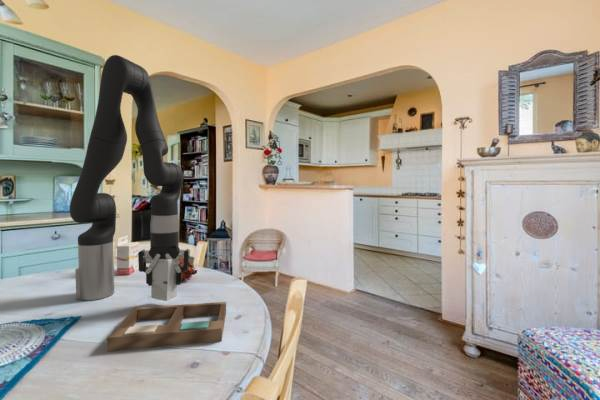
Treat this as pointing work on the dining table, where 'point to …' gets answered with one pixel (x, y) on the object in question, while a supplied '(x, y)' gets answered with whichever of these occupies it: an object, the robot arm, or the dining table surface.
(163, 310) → the socket block
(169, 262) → the skincare box
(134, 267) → the ink cartridge box
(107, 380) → the dining table surface
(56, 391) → the dining table surface
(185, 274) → the dragon fruit
